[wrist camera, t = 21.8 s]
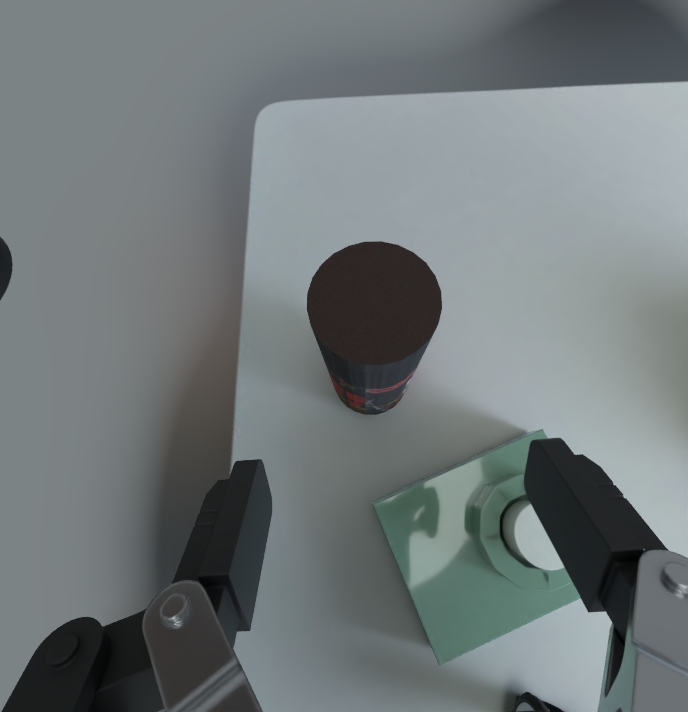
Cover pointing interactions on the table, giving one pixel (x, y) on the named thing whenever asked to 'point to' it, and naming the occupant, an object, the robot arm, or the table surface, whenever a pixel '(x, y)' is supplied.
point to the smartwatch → (532, 704)
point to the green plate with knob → (469, 551)
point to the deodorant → (373, 321)
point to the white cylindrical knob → (529, 537)
